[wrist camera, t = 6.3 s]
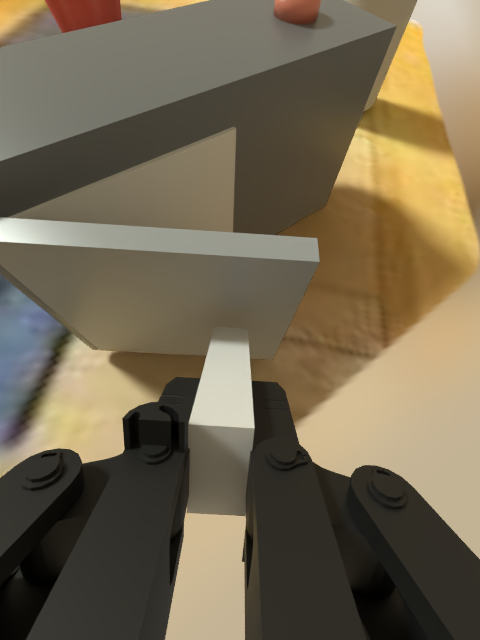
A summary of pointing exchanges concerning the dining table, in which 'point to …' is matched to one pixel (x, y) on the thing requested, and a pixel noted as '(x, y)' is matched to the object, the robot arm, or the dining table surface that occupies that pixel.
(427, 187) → the dining table surface
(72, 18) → the flower pot
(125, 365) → the dining table surface
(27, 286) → the door
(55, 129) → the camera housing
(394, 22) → the can
